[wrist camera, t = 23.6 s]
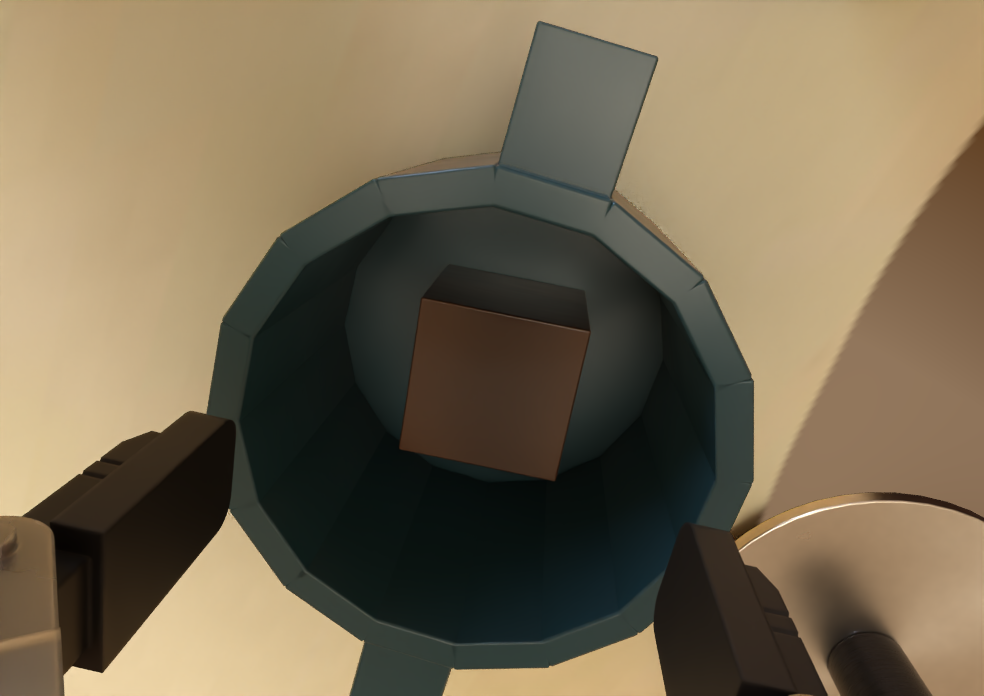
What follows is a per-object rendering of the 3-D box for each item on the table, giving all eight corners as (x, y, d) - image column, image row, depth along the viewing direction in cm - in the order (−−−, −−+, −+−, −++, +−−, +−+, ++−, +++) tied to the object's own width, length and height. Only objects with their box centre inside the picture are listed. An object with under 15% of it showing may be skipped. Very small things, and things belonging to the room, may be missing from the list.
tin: (287, 499, 26) (164, 667, 18) (391, 11, 20) (279, -64, 12) (590, 591, 26) (603, 801, 18) (778, 128, 20) (921, 130, 12)
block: (427, 390, 23) (397, 449, 19) (447, 263, 22) (420, 297, 18) (556, 417, 23) (555, 482, 19) (585, 290, 22) (591, 330, 18)
